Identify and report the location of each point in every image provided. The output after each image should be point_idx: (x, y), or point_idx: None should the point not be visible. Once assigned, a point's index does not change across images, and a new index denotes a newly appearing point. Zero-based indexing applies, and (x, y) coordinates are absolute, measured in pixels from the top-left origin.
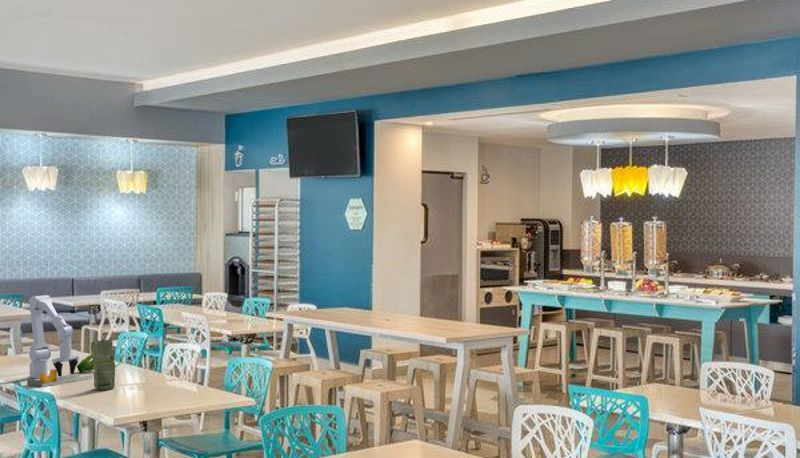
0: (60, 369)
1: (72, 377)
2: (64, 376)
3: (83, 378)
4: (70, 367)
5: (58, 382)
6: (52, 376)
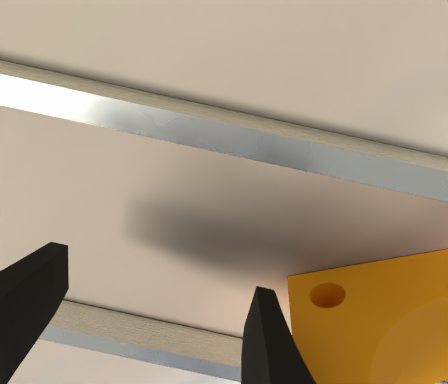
0: (299, 378)
1: None
2: (104, 334)
3: (6, 67)
4: (4, 374)
5: (443, 164)
6: (391, 340)
